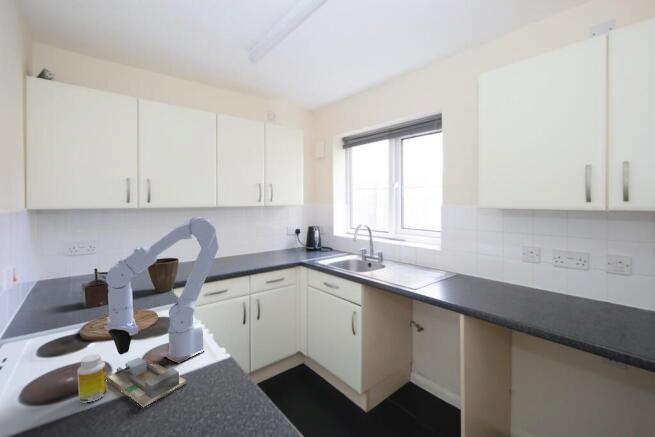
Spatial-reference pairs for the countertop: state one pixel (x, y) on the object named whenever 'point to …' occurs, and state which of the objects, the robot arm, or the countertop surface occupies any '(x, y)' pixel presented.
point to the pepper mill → (95, 292)
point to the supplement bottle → (91, 378)
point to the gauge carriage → (135, 367)
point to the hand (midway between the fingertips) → (123, 352)
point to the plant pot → (164, 273)
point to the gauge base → (146, 383)
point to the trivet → (99, 333)
